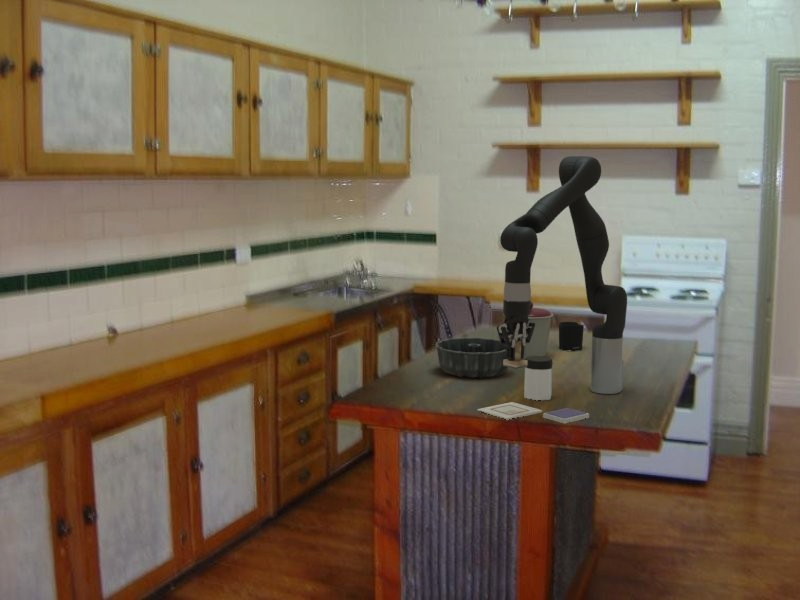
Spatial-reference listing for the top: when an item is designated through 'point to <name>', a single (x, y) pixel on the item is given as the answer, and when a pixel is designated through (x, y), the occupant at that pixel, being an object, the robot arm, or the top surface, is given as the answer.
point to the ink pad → (565, 415)
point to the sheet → (510, 410)
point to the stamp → (516, 358)
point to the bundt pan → (472, 357)
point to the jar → (538, 378)
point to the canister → (538, 332)
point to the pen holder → (570, 336)
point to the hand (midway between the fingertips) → (515, 359)
